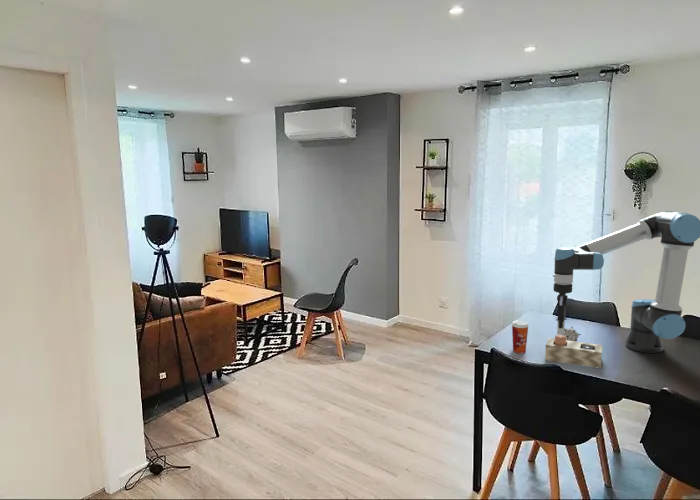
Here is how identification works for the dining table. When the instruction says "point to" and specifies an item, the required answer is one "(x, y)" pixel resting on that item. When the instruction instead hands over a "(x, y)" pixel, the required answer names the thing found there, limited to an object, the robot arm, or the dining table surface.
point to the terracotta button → (560, 340)
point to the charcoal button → (587, 347)
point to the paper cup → (519, 336)
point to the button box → (574, 353)
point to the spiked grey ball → (571, 334)
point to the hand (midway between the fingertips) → (560, 334)
